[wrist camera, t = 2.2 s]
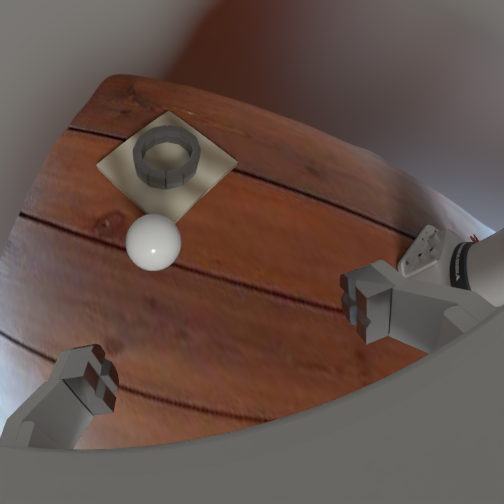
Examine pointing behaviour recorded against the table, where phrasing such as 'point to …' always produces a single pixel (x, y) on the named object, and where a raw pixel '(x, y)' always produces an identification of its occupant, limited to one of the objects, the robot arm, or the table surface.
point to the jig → (166, 167)
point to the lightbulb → (153, 242)
